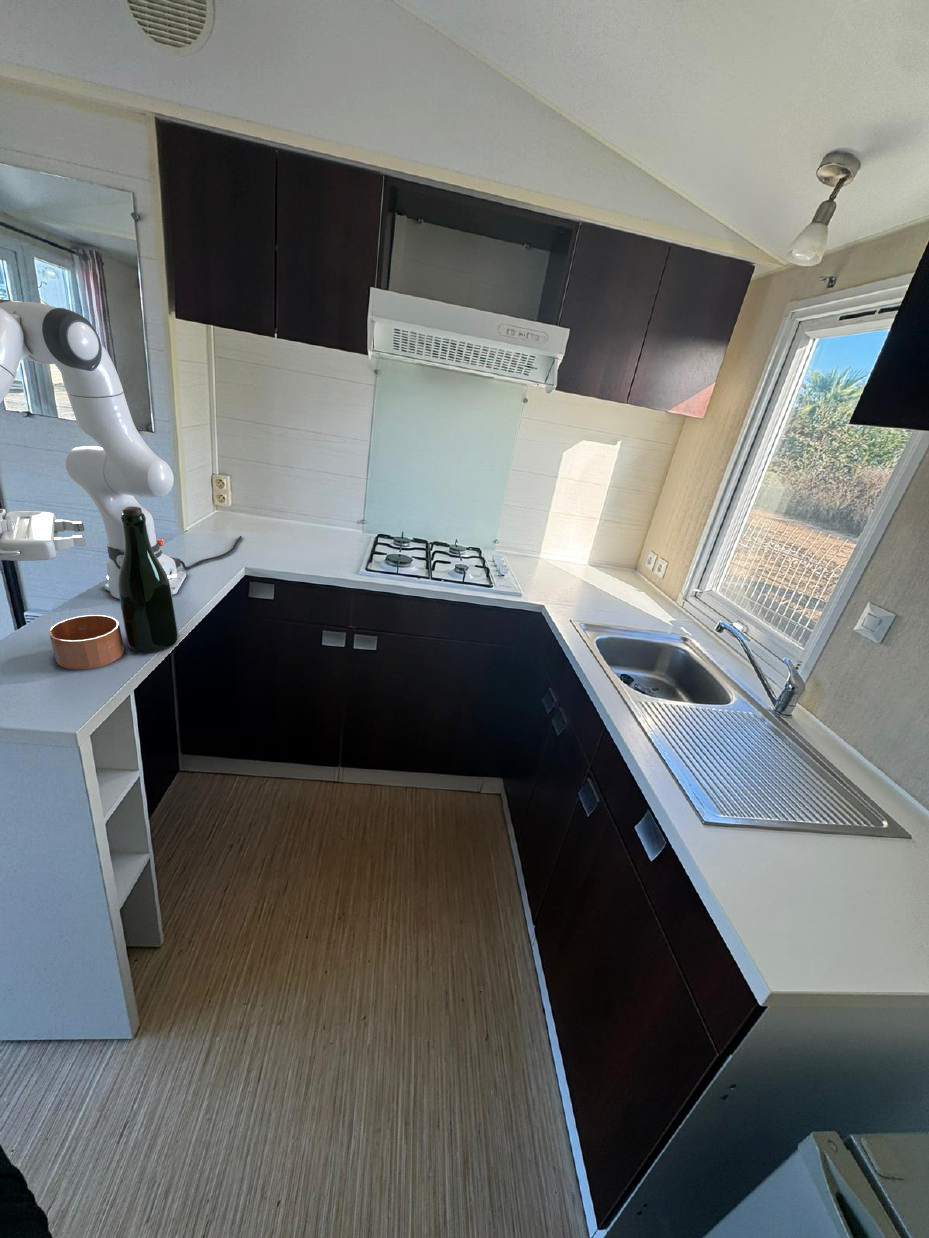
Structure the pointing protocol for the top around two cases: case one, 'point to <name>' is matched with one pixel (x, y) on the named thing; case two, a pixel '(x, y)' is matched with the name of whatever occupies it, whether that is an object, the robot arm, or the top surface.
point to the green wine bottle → (144, 590)
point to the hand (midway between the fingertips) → (84, 533)
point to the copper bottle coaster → (86, 641)
